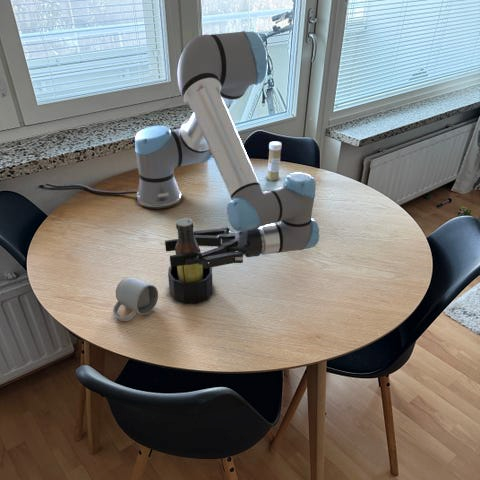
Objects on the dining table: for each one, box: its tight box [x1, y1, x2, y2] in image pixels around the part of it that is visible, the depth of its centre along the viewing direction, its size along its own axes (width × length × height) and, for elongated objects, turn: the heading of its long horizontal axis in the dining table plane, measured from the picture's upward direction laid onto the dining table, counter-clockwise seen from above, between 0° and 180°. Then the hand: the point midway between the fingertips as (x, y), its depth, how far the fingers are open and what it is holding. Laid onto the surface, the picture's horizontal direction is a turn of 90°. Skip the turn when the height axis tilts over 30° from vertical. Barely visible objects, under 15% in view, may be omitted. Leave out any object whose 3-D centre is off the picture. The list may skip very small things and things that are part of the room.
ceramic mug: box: [112, 277, 159, 322], centre depth 106 cm, size 11×8×8 cm
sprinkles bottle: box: [266, 140, 283, 181], centre depth 165 cm, size 5×5×14 cm
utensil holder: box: [167, 265, 214, 305], centre depth 112 cm, size 11×11×6 cm
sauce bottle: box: [174, 217, 203, 282], centre depth 108 cm, size 6×6×20 cm
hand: (168, 253), depth 105 cm, fingers closed on sauce bottle, 6 cm apart
